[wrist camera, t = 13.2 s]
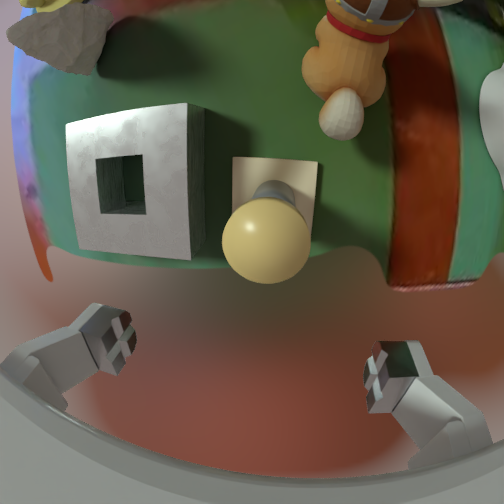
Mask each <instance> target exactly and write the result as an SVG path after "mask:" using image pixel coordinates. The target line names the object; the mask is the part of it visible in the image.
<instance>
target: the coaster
mask: <svg viewBox="0 0 504 504" xmlns="http://www.w3.org/2000/svg"><path fill="white" fill-rule="evenodd" d="M317 165H318V162H315V161H304V160H292V159H277V158H258V157H233V176H232V214H233V213H234V211H235V210H236V209H237V208H238V207H239V206H241V205H242V204H243V203H245V202H247V201H249V200H251V198H252V196H253V195H254V193H255V191H256V189H257V188H258V186H259V185H261V184H262V183H263V182H266V181H268V180H279V181H282V182H284V183H286V184H287V185H288V186H289V187H290V188H291V189H292V191H293V193H294V197H295V204H296V208H297V209H298V210H299V211H300V213H301V214H302V215H303V217H304V219H305V220H306V223H307V226H308V230H309V234H310V239H311V230H312V221H313V211H314V201H315V190H316V178H317Z"/></svg>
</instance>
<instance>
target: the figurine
mask: <svg viewBox="0 0 504 504" xmlns="http://www.w3.org/2000/svg"><path fill="white" fill-rule="evenodd" d="M83 1H84V0H19V2H20V4H21V6H23V7H25V8H35V7H36V10H37V12H38V13H39V12H52V11H54V10H56V9H58V8H60V7H62V6H63V5H65V4H73V3H75V2H79V3H81V2H83Z"/></svg>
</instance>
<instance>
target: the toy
mask: <svg viewBox="0 0 504 504" xmlns="http://www.w3.org/2000/svg"><path fill="white" fill-rule="evenodd" d="M460 1H462V0H325V2H326V5H327V8H328V12H327V15H326V16H324V17H323V18H322V20H321V21H320V22H319V23H318V25H317V27H316V31H315V32H316V39H317V40H318V41H319V47H318V46H315V47H312V48H310V49H309V50H308V51H307V53H306V54H305V56H304V58H303V62H302V75H303V78H304V80H305V82H306V84H307V85H308V87H309V88H310V89H311V90H312V91H313V92H314V93H315V94H316V95H317V96H318V97H320V98H321V99H322V100H324V101H325V104H324V105H323V107H322V109H321V111H320V113H319V123H320V127H321V129H322V130H323V132H324V133H325V134H326V135H327V136H329V137H331V138H333V139H336V140H342V141H343V140H348V139H352V138H353V137H355V136H357V134H358V133H359V132H360V131H361V128H362V125H363V122H364V108H363V107H367V106H370V105H372V104H374V103H375V102H376V101H377V100H378V99H380V97H381V95H382V94H383V92H384V89H385V85H386V74H385V71H384V69H383V67H382V63H383V59H384V58H385V56H386V54H387V52H388V49H389V40H388V39H389V38H390V35H391V33H393V32H395V31H396V30H397V29H399V28H400V27H401V26H402V24H403V23H404V22H405V21H406V20H407V19H408V18H409V17H410V16H411V15H412V14H413V12H414V10H415V9H416V10H419V8H420V7H436V6H445V5H450V4H454V3H457V2H460Z"/></svg>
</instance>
